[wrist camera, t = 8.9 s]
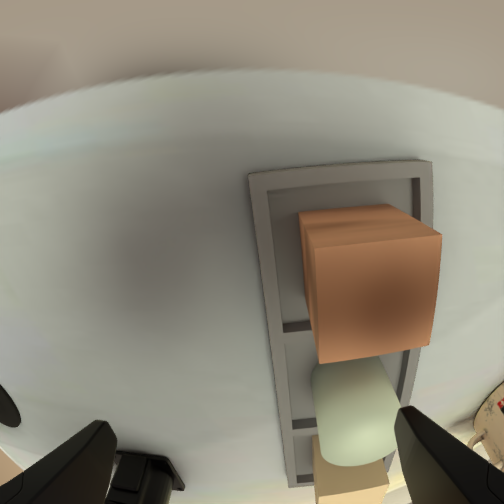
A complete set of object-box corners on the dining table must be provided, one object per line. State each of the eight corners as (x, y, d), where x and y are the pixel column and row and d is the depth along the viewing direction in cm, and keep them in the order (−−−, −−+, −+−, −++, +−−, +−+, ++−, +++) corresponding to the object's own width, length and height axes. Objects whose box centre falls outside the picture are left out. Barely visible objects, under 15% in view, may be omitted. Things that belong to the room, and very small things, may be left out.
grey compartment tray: (384, 460, 24) (398, 512, 18) (288, 475, 25) (289, 531, 19) (419, 159, 16) (488, 172, 9) (249, 173, 16) (238, 190, 10)
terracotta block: (387, 287, 18) (428, 345, 12) (305, 298, 18) (319, 364, 12) (388, 203, 16) (441, 234, 10) (298, 212, 16) (314, 248, 11)
